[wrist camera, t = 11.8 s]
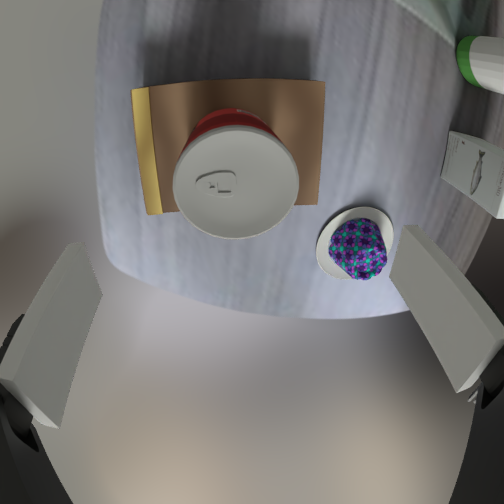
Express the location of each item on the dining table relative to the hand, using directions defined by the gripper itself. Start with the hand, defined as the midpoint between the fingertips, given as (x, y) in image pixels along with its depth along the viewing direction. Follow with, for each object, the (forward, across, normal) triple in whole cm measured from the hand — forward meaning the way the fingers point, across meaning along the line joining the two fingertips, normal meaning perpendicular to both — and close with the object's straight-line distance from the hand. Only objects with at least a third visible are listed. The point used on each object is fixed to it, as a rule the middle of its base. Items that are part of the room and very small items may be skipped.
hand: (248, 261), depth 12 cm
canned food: (+19, 0, 0) cm, 19 cm away
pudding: (+24, +17, -15) cm, 33 cm away
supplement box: (+24, +33, -1) cm, 41 cm away
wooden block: (+24, 0, 0) cm, 24 cm away
